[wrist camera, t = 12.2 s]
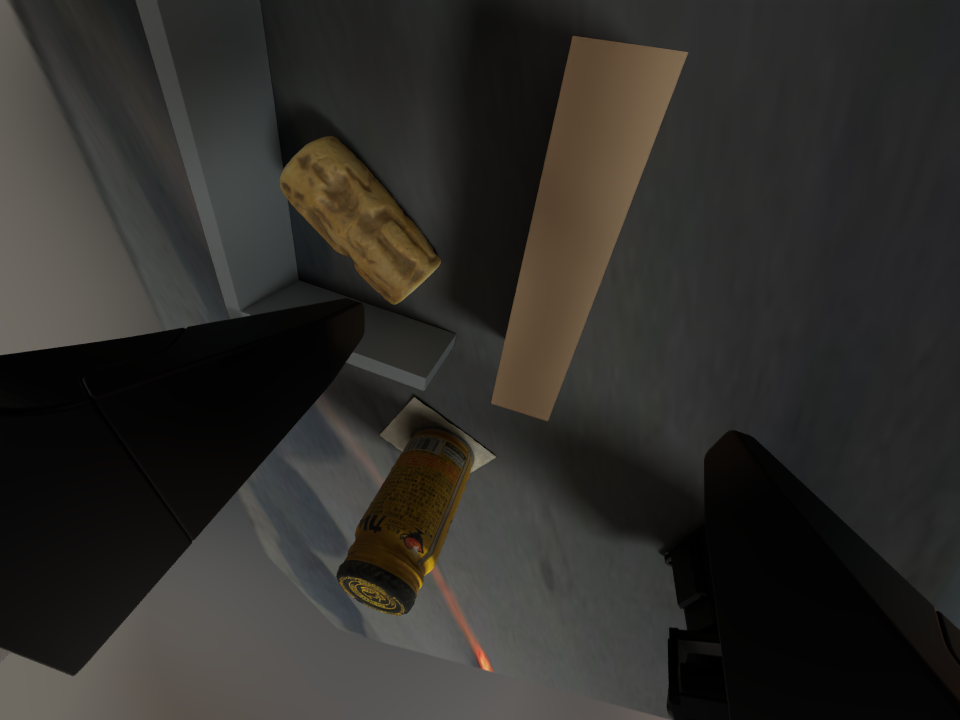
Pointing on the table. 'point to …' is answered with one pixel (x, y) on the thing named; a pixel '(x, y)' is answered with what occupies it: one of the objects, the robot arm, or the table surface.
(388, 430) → the condiment
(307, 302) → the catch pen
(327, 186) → the carved stone cylinder
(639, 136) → the bar
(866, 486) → the table surface
